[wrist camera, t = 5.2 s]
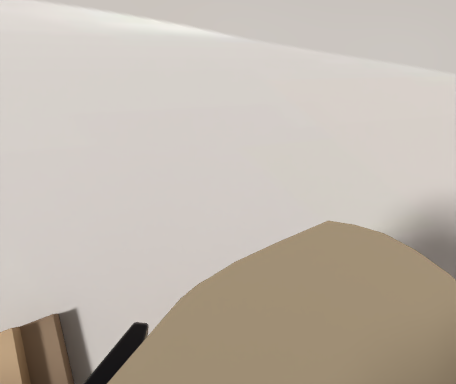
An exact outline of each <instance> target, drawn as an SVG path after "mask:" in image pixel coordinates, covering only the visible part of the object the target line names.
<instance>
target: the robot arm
mask: <svg viewBox="0 0 456 384" xmlns="http://www.w3.org/2000/svg"><path fill="white" fill-rule="evenodd" d="M147 335H148V324H147V323H139V322H135V323H134V324H133V325H132V326H131V327H130V328H129V330H128V331H127V332H126V333H125V334H124V336H123V337H122V338H121V339H120V340H119V342H118V343H117V344H116V345H115V346H114V348H113V349H112V350H111V351H110V352H109V354H108V355H107V356H106V357H105V358H104V360H103V361H102V362H101V363H100V365H99V366H98V367H97V368H96V369H95V371H94V372H93V373H92V374H91V375H90V377H89V378H88V379H87V380H86V381H85V383H84V384H107V383H108V382H109V381H110V380H111V378H112V377H113V376H114V375H115V374H116V373H117V372H118V370H119V369H120V368H121V367H122V366H123V365H124V363H125V362H126V361H127V360H128V359H129V358H130V356H131V355H132V354H133V353H134V352H135V351H136V349H137V348H138V347H139V346H140V345H141V344H142V342H143V341H144V340H145V339H146V338H147Z"/></svg>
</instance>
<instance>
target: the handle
mask: <svg viewBox="0 0 456 384" xmlns="http://www.w3.org/2000/svg"><path fill="white" fill-rule="evenodd" d="M107 384H456V280H455V279H454V278H453V277H452V276H451V275H450V274H449V273H447V272H446V271H444V270H443V269H442V268H440V267H439V266H437V265H436V264H435V263H433V262H432V261H430V260H429V259H428V258H426V257H425V256H423V255H422V254H421V253H419V252H418V251H416V250H415V249H413V248H411V247H409V246H407V245H405V244H403V243H401V242H399V241H397V240H395V239H394V238H392V237H390V236H388V235H386V234H384V233H381V232H377V231H374V230H371V229H367V228H364V227H360V226H357V225H352V224H346V223H340V222H333V221H326V222H324V223H322V224H319V225H317V226H315V227H312V228H310V229H308V230H305V231H303V232H301V233H298V234H296V235H294V236H291V237H289V238H287V239H284V240H282V241H279V242H277V243H275V244H273V245H271V246H269V247H266V248H264V249H262V250H260V251H258V252H256V253H253V254H251V255H249V256H247V257H245V258H243V259H240V260H238V261H236V262H234V263H233V264H231V265H229V266H228V267H226V268H224V269H223V270H221V271H220V272H218V273H216V274H215V275H213V276H212V277H210V278H208V279H206V280H205V281H203V282H201V283H199V284H198V285H197V286H195V287H194V288H193V289H192V290H190V291H189V292H188V293H187V294H186V295H184V296H183V297H182V298H181V299H180V300H179V301H178V302H177V303H176V304H175V305H174V307H173V308H172V309H171V310H170V311H169V312H168V314H167V315H166V316H165V317H164V318H163V319H162V320H161V322H160V323H159V324H158V325H157V326H156V327H155V329H154V330H153V331H152V332H151V333H150V334H149V336H148V337H147V338H146V339H145V340H144V341H143V342H142V344H141V345H140V346H139V347H138V348H137V349H136V351H135V352H134V353H133V354H132V355H131V356H130V358H129V359H128V360H127V361H126V362H125V363H124V365H123V366H122V367H121V368H120V369H119V370H118V372H117V373H116V374H115V375H114V376H113V377H112V378H111V380H110V381H109V382H108V383H107Z"/></svg>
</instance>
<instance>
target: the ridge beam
mask: <svg viewBox="0 0 456 384" xmlns="http://www.w3.org/2000/svg"><path fill="white" fill-rule="evenodd" d="M0 384H74V381H73V376H72V372H71V367H70V363H69V359H68V354H67V350H66V345H65V341H64V337H63V332H62V328H61V323H60V319H59V315H58V314H52V315H50V316H47V317H44V318H42V319H39V320H36V321H34V322H31V323H28V324H26V325H23V326H21V327H15V328H10V329H8V330H5V331H3V332H0Z"/></svg>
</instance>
